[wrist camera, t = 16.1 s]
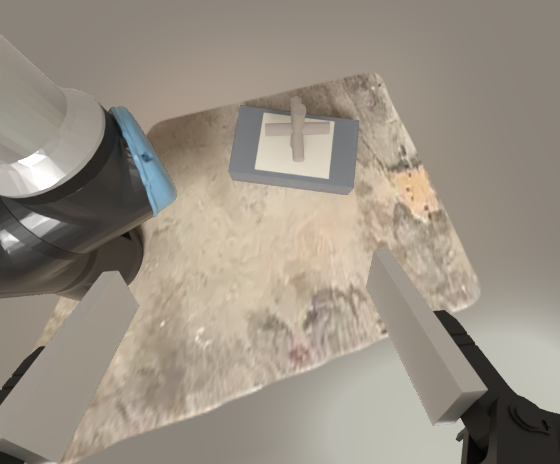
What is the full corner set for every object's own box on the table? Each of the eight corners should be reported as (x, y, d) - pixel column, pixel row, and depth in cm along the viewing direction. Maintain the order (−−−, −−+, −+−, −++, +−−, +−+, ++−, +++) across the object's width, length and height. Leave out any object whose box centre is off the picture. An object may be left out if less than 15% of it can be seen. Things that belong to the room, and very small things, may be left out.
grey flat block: (232, 180, 46) (228, 170, 42) (243, 119, 48) (240, 104, 44) (347, 195, 46) (354, 187, 41) (352, 133, 48) (359, 119, 44)
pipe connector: (266, 119, 43) (262, 77, 33) (321, 117, 43) (334, 74, 33) (267, 172, 42) (263, 145, 32) (324, 170, 42) (338, 142, 32)
